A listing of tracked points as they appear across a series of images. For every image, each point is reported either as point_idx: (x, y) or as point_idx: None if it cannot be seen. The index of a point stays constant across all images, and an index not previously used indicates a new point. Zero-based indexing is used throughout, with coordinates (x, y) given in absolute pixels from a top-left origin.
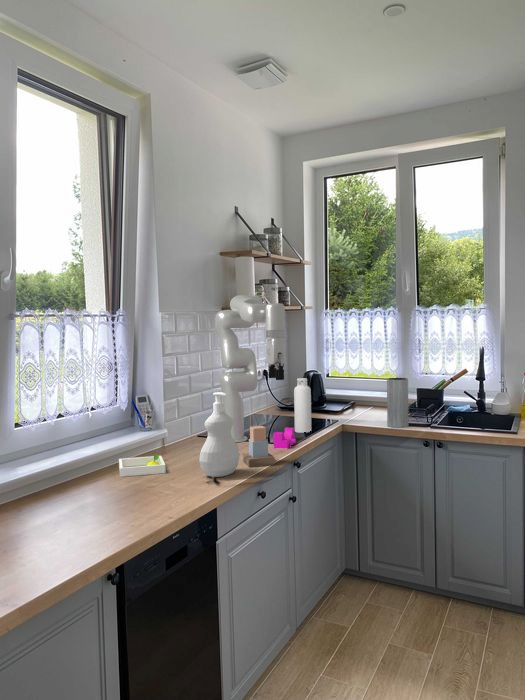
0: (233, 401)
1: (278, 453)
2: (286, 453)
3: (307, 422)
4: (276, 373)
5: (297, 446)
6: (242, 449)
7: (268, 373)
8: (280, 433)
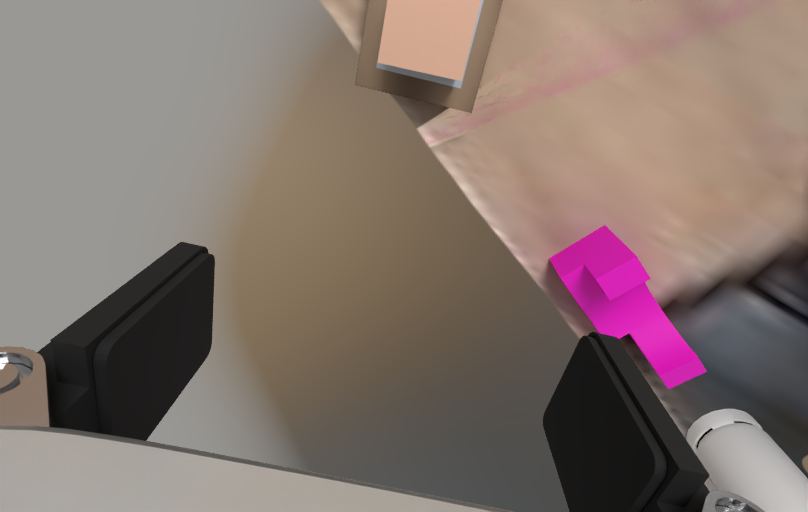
0: None
1: (535, 207)
2: (514, 233)
3: (723, 484)
4: (117, 299)
5: (589, 329)
6: (725, 111)
7: (645, 381)
8: (603, 277)
